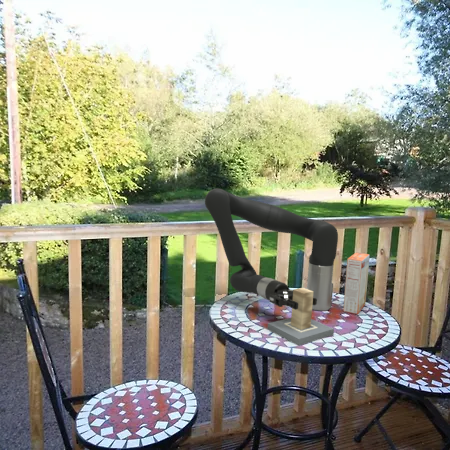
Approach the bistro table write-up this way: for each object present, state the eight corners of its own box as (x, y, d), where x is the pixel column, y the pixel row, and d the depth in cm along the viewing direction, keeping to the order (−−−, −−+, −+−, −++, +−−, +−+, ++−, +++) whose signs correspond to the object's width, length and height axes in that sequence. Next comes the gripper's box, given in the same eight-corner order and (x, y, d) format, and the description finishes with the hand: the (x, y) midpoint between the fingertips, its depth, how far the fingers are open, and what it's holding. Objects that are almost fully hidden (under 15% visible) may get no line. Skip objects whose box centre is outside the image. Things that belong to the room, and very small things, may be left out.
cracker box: (350, 301, 165) (355, 251, 162) (365, 305, 162) (370, 254, 159) (341, 311, 153) (346, 257, 150) (358, 315, 150) (363, 260, 147)
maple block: (300, 322, 134) (303, 287, 133) (310, 327, 131) (313, 291, 129) (290, 325, 132) (293, 289, 130) (300, 329, 128) (303, 293, 126)
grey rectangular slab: (301, 320, 142) (302, 314, 141) (333, 334, 131) (334, 328, 130) (267, 329, 132) (267, 322, 132) (298, 345, 121) (299, 338, 121)
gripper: (257, 282, 137) (291, 296, 124) (288, 277, 145) (322, 289, 132) (256, 303, 138) (290, 319, 125) (286, 297, 146) (321, 311, 133)
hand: (306, 304), depth 129 cm, fingers open, 8 cm apart
